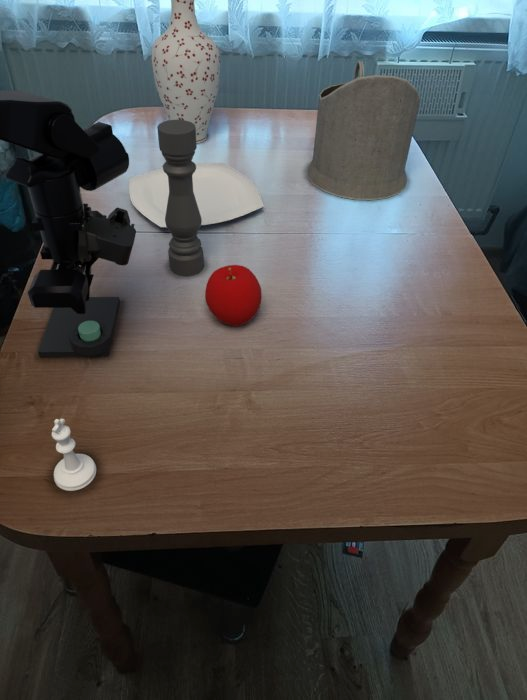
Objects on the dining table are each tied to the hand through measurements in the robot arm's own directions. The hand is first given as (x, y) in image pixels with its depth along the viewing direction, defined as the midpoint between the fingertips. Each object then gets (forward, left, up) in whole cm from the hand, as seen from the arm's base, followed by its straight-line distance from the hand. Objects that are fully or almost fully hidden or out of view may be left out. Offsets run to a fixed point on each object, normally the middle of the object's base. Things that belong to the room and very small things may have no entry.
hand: (83, 306), depth 76 cm
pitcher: (+69, +41, -8) cm, 81 cm away
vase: (+37, +71, -8) cm, 80 cm away
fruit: (+22, 0, -8) cm, 24 cm away
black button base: (-1, +5, -8) cm, 10 cm away
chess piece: (-6, -21, -8) cm, 24 cm away
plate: (+28, +39, -8) cm, 49 cm away
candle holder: (+19, +16, -8) cm, 26 cm away
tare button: (0, 0, -5) cm, 5 cm away
